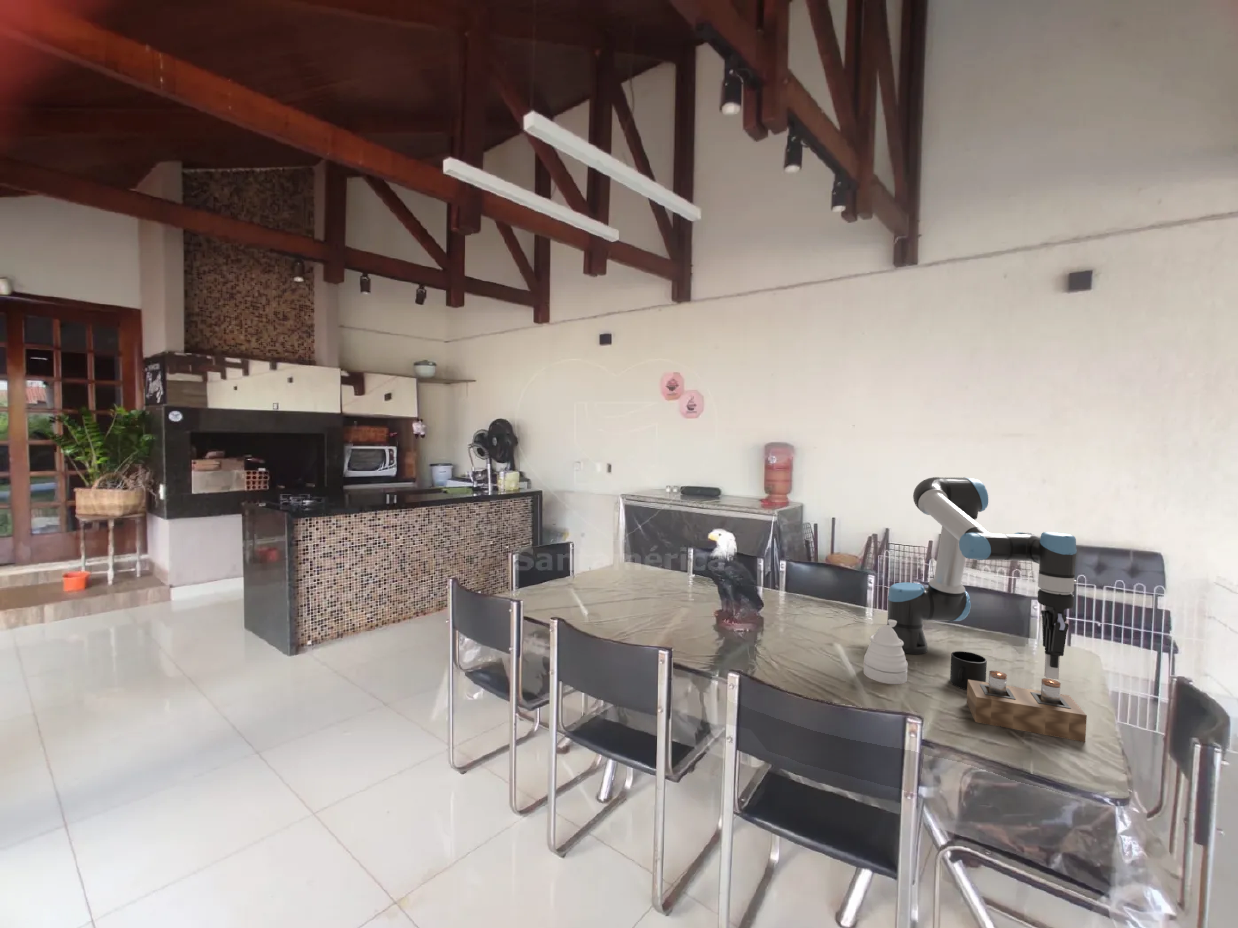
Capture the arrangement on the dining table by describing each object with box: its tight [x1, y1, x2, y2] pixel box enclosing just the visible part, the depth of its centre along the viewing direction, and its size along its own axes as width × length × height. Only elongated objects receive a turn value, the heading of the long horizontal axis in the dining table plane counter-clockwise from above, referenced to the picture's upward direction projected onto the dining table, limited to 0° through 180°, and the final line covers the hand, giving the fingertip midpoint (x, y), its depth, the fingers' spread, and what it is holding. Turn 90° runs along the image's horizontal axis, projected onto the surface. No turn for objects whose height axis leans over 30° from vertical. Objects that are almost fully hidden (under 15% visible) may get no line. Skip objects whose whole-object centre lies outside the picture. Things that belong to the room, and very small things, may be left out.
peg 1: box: [988, 670, 1008, 696], centre depth 152 cm, size 4×4×7 cm
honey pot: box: [863, 619, 909, 685], centre depth 179 cm, size 13×13×18 cm
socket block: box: [966, 680, 1088, 743], centre depth 150 cm, size 24×12×7 cm, turn 67°
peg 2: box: [1040, 677, 1062, 705], centre depth 148 cm, size 4×4×7 cm
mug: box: [949, 650, 988, 691], centre depth 172 cm, size 9×12×9 cm
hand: (1051, 677), depth 148 cm, fingers closed
